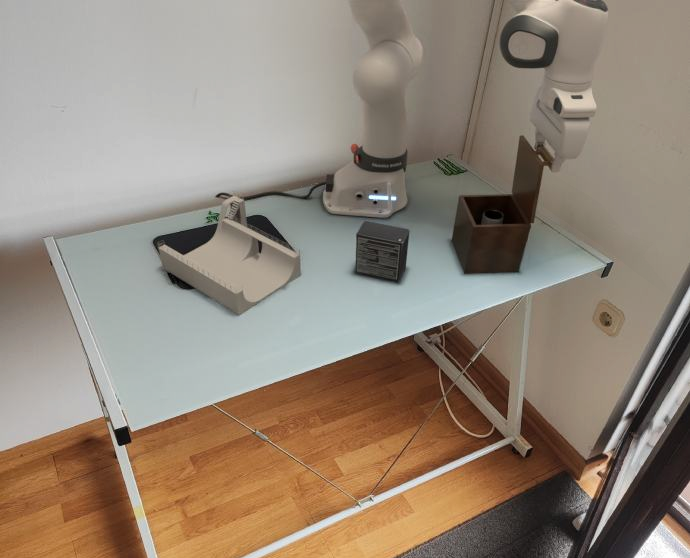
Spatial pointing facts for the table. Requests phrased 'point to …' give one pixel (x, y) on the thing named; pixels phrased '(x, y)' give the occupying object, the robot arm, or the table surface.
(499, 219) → the grey hollow cylinder
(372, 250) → the small box
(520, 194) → the box lid
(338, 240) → the table surface
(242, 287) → the skate ramp
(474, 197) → the storage box
